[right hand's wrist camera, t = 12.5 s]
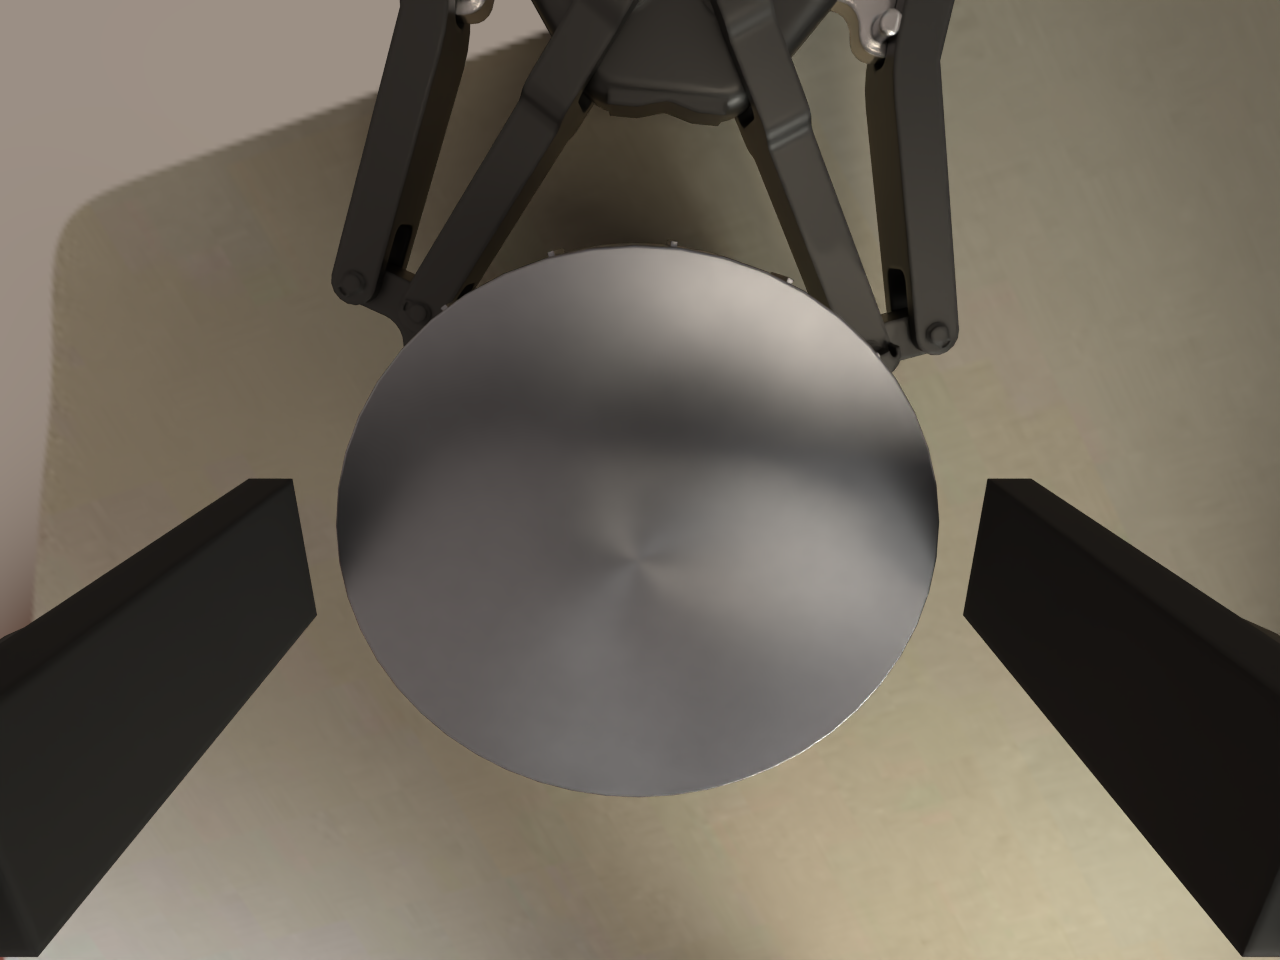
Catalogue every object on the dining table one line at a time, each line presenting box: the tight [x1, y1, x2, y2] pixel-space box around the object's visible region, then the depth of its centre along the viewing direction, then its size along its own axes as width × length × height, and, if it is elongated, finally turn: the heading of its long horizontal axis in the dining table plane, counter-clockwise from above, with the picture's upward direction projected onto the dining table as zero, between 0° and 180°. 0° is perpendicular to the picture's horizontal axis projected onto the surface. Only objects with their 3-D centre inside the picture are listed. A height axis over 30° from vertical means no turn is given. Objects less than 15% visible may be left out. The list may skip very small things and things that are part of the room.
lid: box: [336, 240, 939, 797], centre depth 14 cm, size 11×11×2 cm
